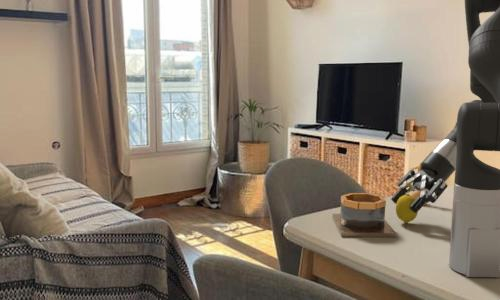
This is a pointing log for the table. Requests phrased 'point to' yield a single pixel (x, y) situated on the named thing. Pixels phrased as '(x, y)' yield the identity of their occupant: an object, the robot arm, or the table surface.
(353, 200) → the pot on wooden stand
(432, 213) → the table surface
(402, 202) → the lemon
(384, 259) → the table surface
